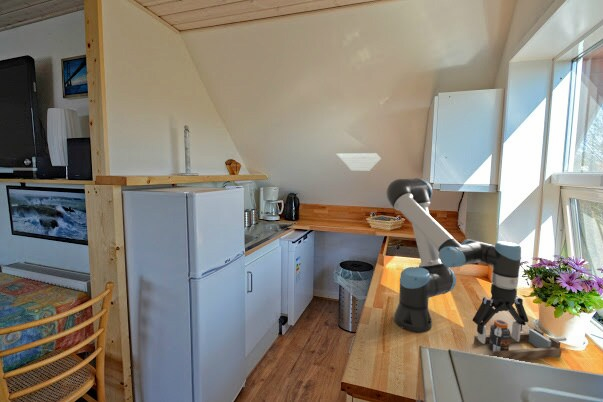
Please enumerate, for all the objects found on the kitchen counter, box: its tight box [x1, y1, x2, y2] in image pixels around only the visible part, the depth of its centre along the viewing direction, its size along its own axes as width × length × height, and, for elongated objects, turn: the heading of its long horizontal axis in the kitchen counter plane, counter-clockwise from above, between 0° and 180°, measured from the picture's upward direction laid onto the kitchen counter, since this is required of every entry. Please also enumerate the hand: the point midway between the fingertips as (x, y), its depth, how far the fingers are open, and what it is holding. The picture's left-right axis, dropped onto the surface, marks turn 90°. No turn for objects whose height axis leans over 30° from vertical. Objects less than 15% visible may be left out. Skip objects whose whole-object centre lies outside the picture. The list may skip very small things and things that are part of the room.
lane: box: [473, 327, 563, 361], centre depth 103 cm, size 25×10×5 cm, turn 96°
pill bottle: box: [488, 319, 511, 353], centre depth 102 cm, size 6×6×11 cm
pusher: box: [527, 328, 568, 348], centre depth 105 cm, size 11×7×5 cm, turn 96°
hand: (498, 340), depth 103 cm, fingers open, 13 cm apart
